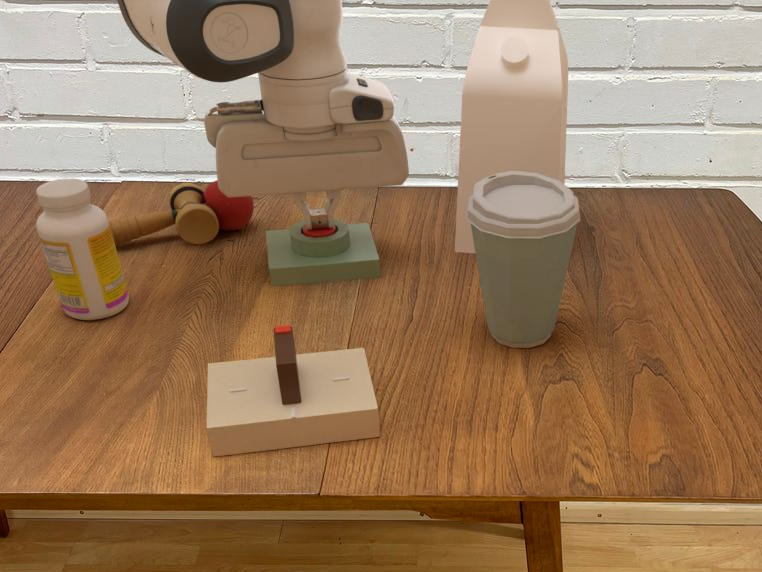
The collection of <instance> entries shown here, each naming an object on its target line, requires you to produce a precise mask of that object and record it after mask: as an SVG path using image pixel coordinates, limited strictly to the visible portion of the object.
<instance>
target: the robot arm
mask: <svg viewBox="0 0 762 572" xmlns="http://www.w3.org/2000/svg"><path fill="white" fill-rule="evenodd" d="M116 1H117V5H118V8H119V10H120V12H121V16H122V18H123V19H124V22H125V25H126V26H127V27H128V29H129V31H130V32H131V34H132V35H133V36H134V37H135V39H137V40H138V42H140V43H141V44H142V45H143V46H144V47H145V48H146V49H148V50H150V51H151V52H153V53H155V54H158V55H160V56H162V57H165V58H166V59H168V60H170V61H171V62H172V63H174V64H175V65H177V66H178V67H180V68H182V69H183V70H185V71H186V72H188V73H189V74H191V75H193V76H195V77H197V78H199V79H202V80H204V81H207V82H211V83H229V82H230V83H231V82H234V81H237V80H241V79H244V78H247V77H250V76H253V75H256V74H257V76H258V84H259V90H260V96H261V99H254V100H244V101H238V102H230V101H222V102H218V103H216V106H214V107H212V108H210V109H209V110H208V111H207V112H206V113H205V116H204V119H203V125H204V131H205V136H206V139H207V141H208V142H209V144H210V145H211V147H213V148H215V170H216V178H217V179H216V181H217V180H218V187H219V190H220V191H221V192H222V193H223V194H224V195H226V196H227V197H231V198H232V197H245V196H252V197H256V196H257V197H258V196H269V195H270V196H271V195H286V194H292V199H293V204H294V205H295V206H296V207H297V209H298V210H299V211H300V212H301V214H302V215H303V216H304V217H305V220H306V225H307V230H314V229H327V228H333V219H334V218H333V214H334V213H335V212H336V210H337V207H338V205H339V204H340V201H341V200H342V197H341V195H342V194H341V190H353V189H366V188H367V189H368V188H379V187H382V188H383V187H393V186H394V187H395V186H396V187H397V186H402V185H403V184H404V183H405V182H406V181H407V179H408V178H409V175H410V168H409V159H408V151H407V146H406V142H405V137H404V134H403V131H402V129H401V126H400V124H399V122H398V120H397V118H396V116H395V115H394V113H395V103H394V97H393V95H392V93H391V91H390V89H389V88H388V87H387V85H385V84H384V83H383V82H381V81H380V80H375V79H372V78H368V77H366V76H361V75H357V74H354V73H351V72H348V62H347V57H346V55H345V52H344V50H343V45H342V37H341V36H342V28H343V23H344V12H343V1H342V0H116ZM216 112H217V113H216ZM311 192H326V195H327V202H326V204H325V206H324V207H322V208H321V207H320V208H311V207H310V206H309V205H308V204H307V202H306V201H307V193H311Z"/></svg>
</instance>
